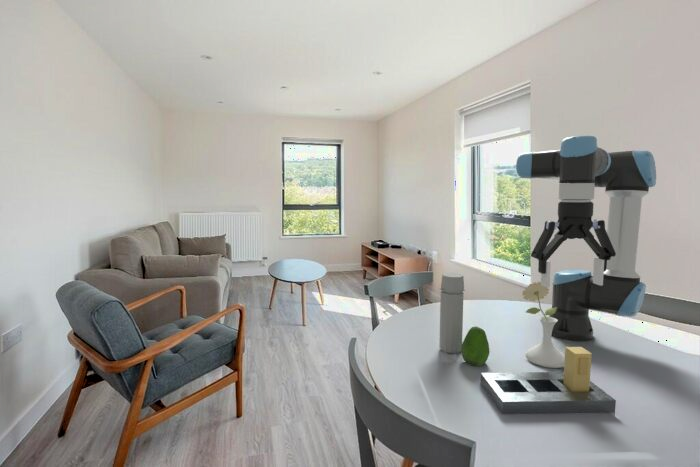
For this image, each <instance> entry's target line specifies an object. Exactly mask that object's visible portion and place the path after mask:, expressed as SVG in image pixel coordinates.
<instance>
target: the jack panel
mask: <svg viewBox="0 0 700 467" xmlns="http://www.w3.org/2000/svg"><path fill="white" fill-rule="evenodd" d="M563 380H564V371H540V372H539V371H536V372H535V371H533V372H532V371H531V372H530V371H529V372H528V371H526V372H524V371H523V372H519V371H518V372H517V371H516V372H515V371H514V372H480V385H481V387H482V388H483V390H484V391H485V392H486V394H487V395H488V397H489V398H490V400H492V402H493V404H494V405H495V406H496V408H497V409H498V410H499V412H500V413H501V414H502V415H557V414H558V415H562V414H563V415H567V414H568V415H570V414H571V415H572V414H611V415H613V417H616V416H615V415H616V404H617V400H616V399H615V398H613V397H612V396H611V395H609V394H608V393H607V392H606V391H604V390H603V389H602V388H600V387H599V386H598V385H596V384H595V383H594V382H592V380H590V386H589V392H571V391H569V390H568V389H567V388H566V387H565V386H564V385H563Z"/></svg>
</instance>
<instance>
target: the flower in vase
mask: <svg viewBox="0 0 700 467" xmlns="http://www.w3.org/2000/svg"><path fill="white" fill-rule="evenodd" d="M549 291H550V288H549V287H545V286H543V285H541V281H538V282H536V281H534V282H532V283H529V284H528V285H527V286H526V287H524V290H523V291H522V296H523V299H524V300H526V301H529V302H536V301H537V302H538V307H539V308H538V307H530V308H528V309H527V310H526V311H525V313H527V314H530V315H531V314H532V315H536V314H538V313H539V312H541V313H542V315H543V316H539V317H538V320H540V322H541V325H542V332H543V333H542V334H543V336H542V340H541V342H540V343H538V344H536V345H534V346H532V347H530V348H529V349H528V350H526V352H525V355H524V356H525V358H526V359H527V360H528V361H529V362H531V363H533V364H534V365H537V366H540V367H544V368H549V369H561V368H564V363H565V353H563V352H562V351H561V350H560V349H559V348H557V347H556V346H555V345H554V344H553V341H552V336H553V335H552V330H553V327H554V325H555V323H556V322H557V321H558V320H557V319H555V318H552V317H549V315H552V314H554V313H555V312H556V310H557V307H555V308H552V307H551V308H548V309H546V310H545V311H543V309H542V306H541V303H540V302H541V301H540V300H543V299H544V298H545V297H547V295H548V294H549V293H550V292H549Z"/></svg>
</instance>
